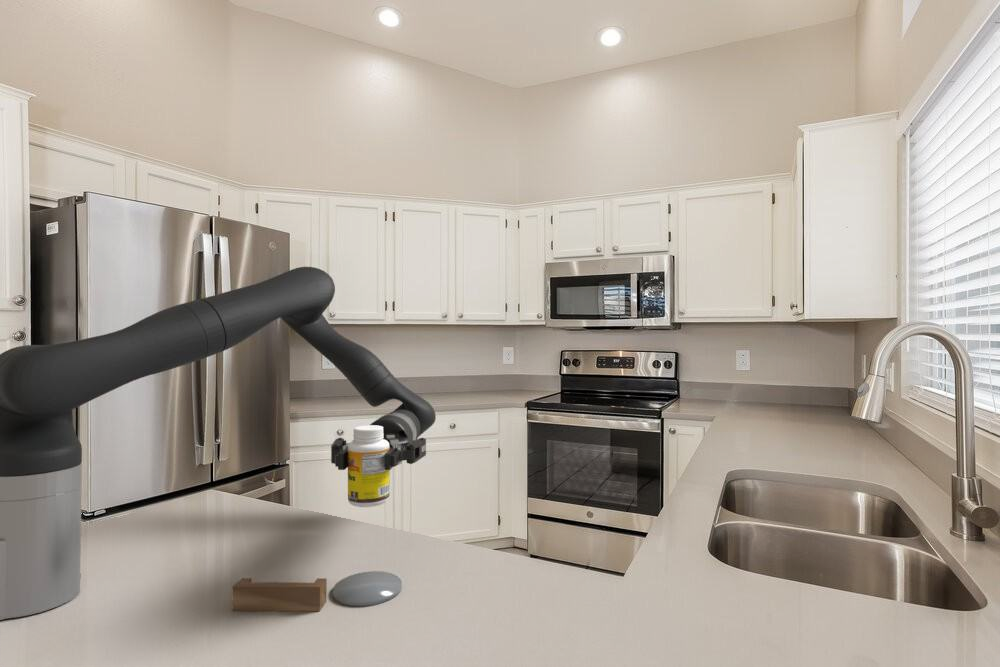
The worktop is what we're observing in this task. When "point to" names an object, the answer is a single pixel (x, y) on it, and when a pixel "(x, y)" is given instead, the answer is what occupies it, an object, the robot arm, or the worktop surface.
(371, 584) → the smooth stone
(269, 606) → the cradle
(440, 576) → the worktop surface
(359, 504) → the supplement bottle
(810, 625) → the worktop surface
